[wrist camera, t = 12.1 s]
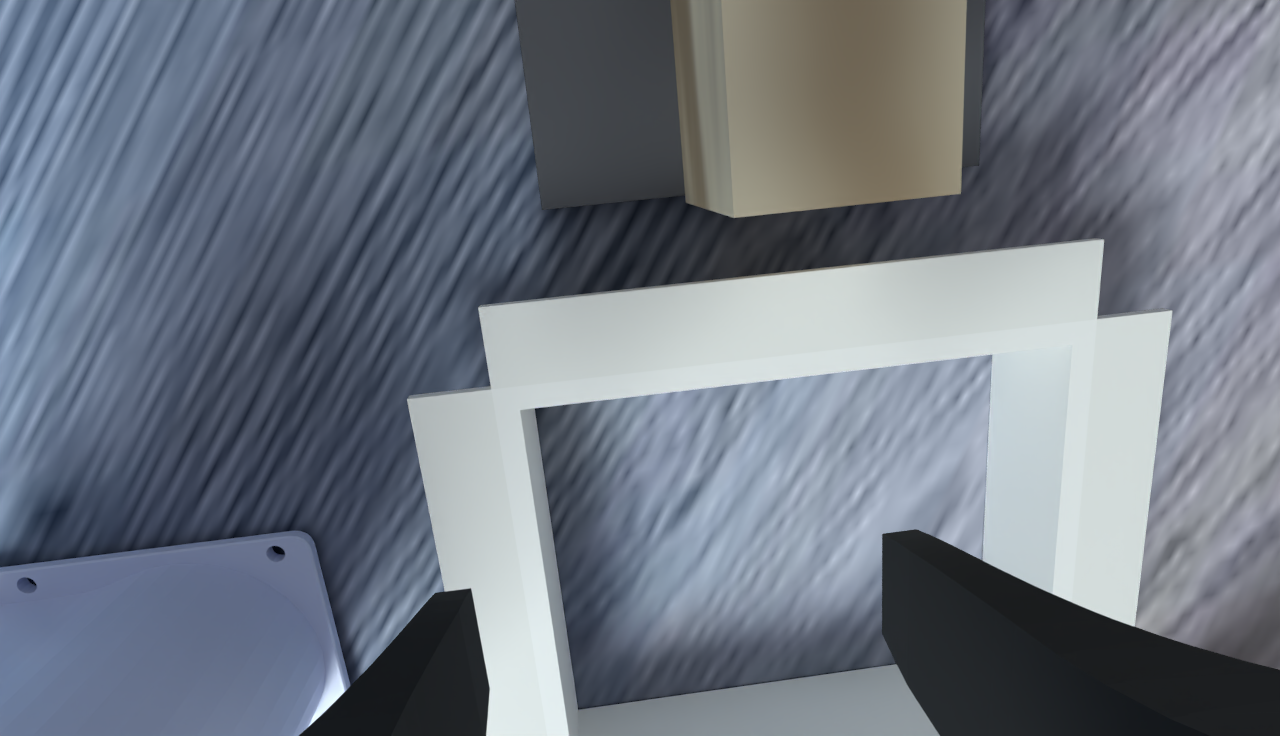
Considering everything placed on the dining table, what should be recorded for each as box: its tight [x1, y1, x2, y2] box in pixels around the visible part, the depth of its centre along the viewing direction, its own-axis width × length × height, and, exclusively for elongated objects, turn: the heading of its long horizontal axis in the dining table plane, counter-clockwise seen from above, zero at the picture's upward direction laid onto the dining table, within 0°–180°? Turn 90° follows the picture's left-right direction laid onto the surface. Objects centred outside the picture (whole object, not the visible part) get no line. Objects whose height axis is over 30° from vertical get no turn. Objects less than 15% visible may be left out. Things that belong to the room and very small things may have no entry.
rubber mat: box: [515, 0, 986, 210], centre depth 18 cm, size 12×9×1 cm
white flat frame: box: [407, 238, 1172, 736], centre depth 21 cm, size 19×17×4 cm
